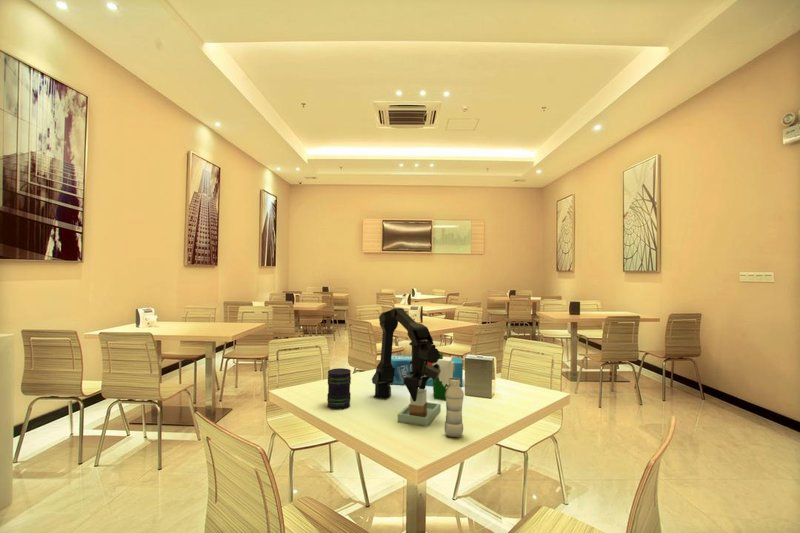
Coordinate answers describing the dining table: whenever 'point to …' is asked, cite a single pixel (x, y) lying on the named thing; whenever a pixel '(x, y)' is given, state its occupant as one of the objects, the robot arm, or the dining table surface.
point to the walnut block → (418, 410)
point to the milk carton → (442, 377)
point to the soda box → (404, 368)
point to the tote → (432, 412)
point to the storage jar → (339, 389)
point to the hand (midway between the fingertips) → (418, 397)
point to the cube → (419, 398)
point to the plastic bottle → (454, 408)
